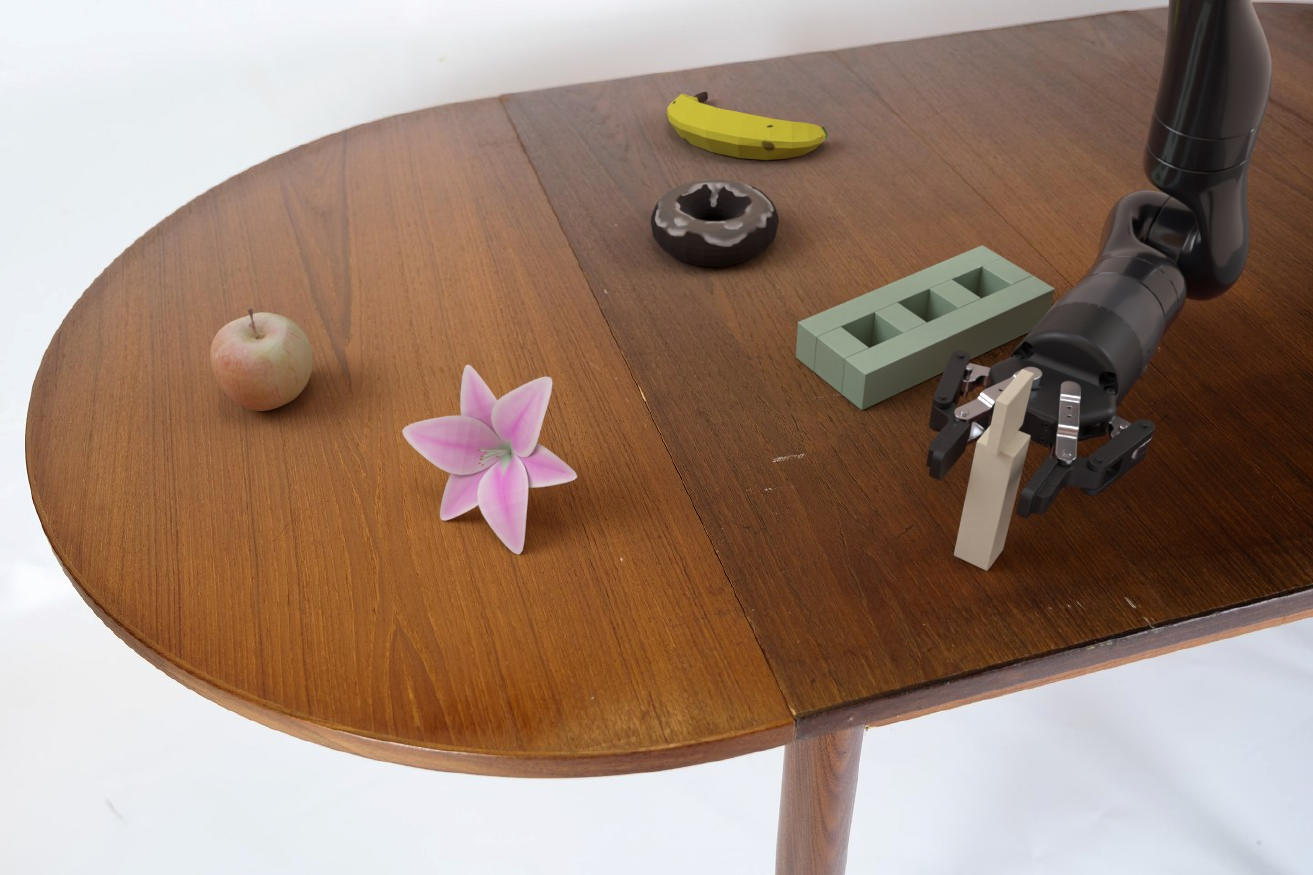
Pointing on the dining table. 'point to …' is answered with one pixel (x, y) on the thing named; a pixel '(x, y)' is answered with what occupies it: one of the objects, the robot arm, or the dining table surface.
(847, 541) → the dining table surface
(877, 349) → the caddy
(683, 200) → the donut
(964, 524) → the cream offset-tab post
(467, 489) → the lily
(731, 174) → the dining table surface
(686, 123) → the banana
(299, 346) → the fruit
